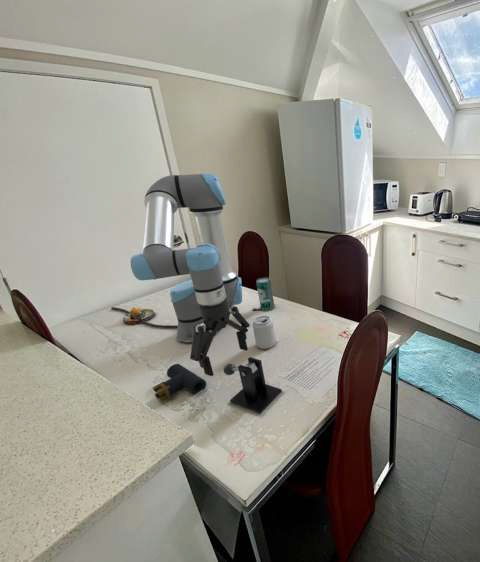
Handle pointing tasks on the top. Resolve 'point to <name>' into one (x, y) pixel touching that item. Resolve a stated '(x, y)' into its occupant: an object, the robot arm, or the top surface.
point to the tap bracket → (254, 389)
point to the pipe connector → (179, 383)
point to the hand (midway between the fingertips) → (227, 361)
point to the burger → (138, 315)
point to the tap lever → (231, 368)
